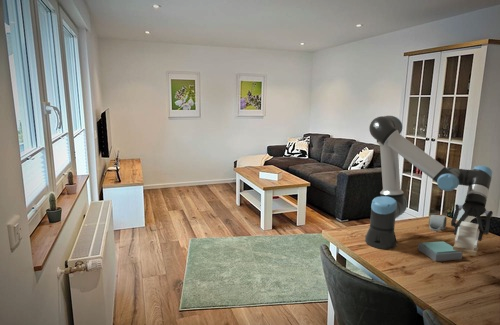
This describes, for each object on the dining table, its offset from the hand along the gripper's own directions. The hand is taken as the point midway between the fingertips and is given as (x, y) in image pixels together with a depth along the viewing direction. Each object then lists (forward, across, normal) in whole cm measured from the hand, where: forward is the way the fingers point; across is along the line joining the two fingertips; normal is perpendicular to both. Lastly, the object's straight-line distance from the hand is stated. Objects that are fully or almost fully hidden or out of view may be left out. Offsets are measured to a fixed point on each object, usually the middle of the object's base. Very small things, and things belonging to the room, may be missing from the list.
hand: (465, 244), depth 135 cm
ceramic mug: (-26, +18, -48) cm, 57 cm away
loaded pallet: (0, 0, -5) cm, 5 cm away
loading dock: (-1, +11, -22) cm, 25 cm away
